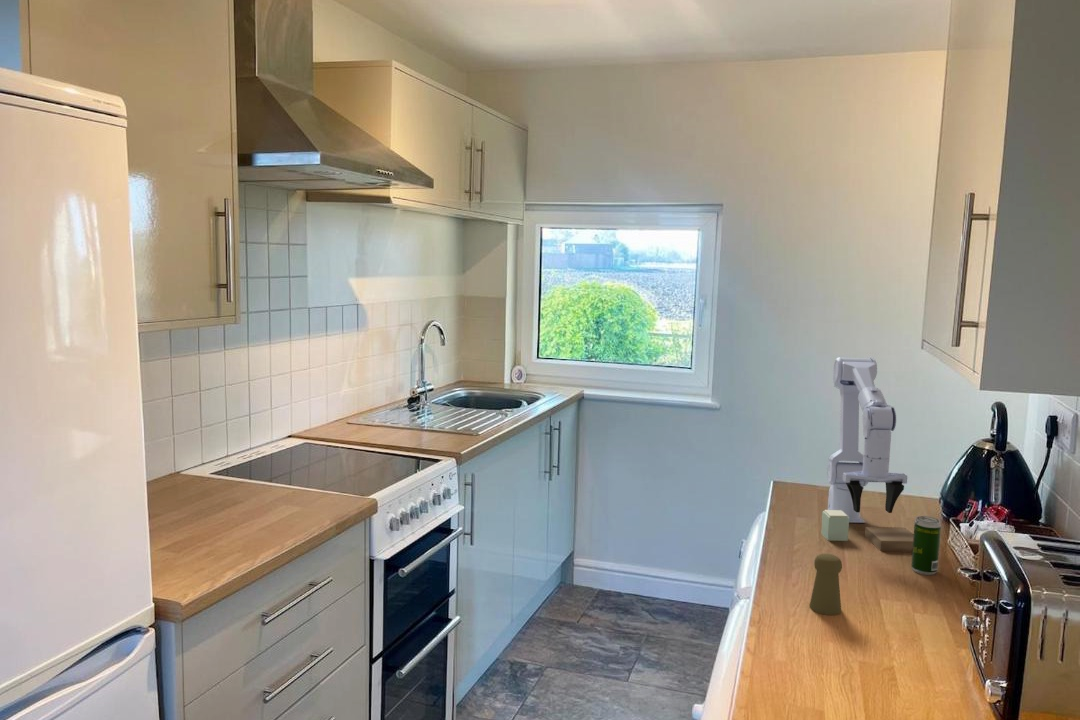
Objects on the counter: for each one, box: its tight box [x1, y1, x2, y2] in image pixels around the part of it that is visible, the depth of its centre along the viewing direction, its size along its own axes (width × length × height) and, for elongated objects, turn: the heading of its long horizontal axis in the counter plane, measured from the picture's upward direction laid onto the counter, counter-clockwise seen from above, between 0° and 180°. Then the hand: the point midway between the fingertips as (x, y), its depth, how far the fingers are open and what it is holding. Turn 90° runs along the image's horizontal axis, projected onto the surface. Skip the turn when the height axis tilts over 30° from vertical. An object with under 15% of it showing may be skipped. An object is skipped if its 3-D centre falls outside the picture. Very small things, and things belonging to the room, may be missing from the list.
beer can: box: [910, 515, 942, 576], centre depth 176 cm, size 5×5×12 cm
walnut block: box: [864, 526, 914, 553], centre depth 194 cm, size 10×10×3 cm
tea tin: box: [820, 509, 850, 542], centre depth 198 cm, size 5×5×6 cm
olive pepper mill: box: [809, 553, 843, 616], centre depth 156 cm, size 6×6×11 cm
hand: (872, 511), depth 188 cm, fingers open, 7 cm apart
